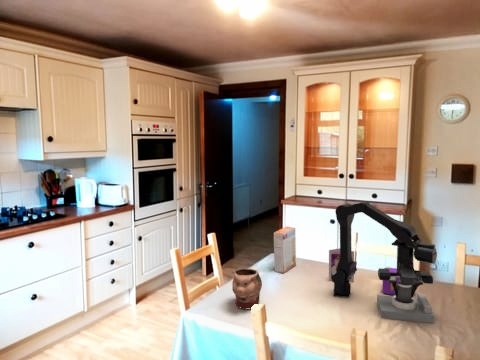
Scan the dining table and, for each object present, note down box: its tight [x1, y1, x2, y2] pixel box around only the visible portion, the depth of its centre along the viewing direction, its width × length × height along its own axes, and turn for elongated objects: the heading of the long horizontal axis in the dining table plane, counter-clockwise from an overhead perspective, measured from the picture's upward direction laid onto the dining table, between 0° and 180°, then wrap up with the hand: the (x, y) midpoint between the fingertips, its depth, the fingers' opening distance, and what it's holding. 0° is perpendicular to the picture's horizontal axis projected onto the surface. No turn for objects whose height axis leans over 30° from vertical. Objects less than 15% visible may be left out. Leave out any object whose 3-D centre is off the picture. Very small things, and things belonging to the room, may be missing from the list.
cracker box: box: [273, 226, 297, 274], centre depth 188 cm, size 14×6×21 cm, turn 145°
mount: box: [376, 293, 435, 324], centre depth 140 cm, size 18×14×5 cm
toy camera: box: [382, 266, 401, 296], centre depth 158 cm, size 11×14×10 cm
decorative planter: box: [231, 268, 263, 309], centre depth 150 cm, size 20×12×14 cm, turn 170°
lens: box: [397, 280, 412, 303], centre depth 139 cm, size 5×5×8 cm
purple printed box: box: [328, 247, 355, 283], centre depth 173 cm, size 11×7×15 cm, turn 77°
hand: (403, 297), depth 139 cm, fingers closed on lens, 5 cm apart
